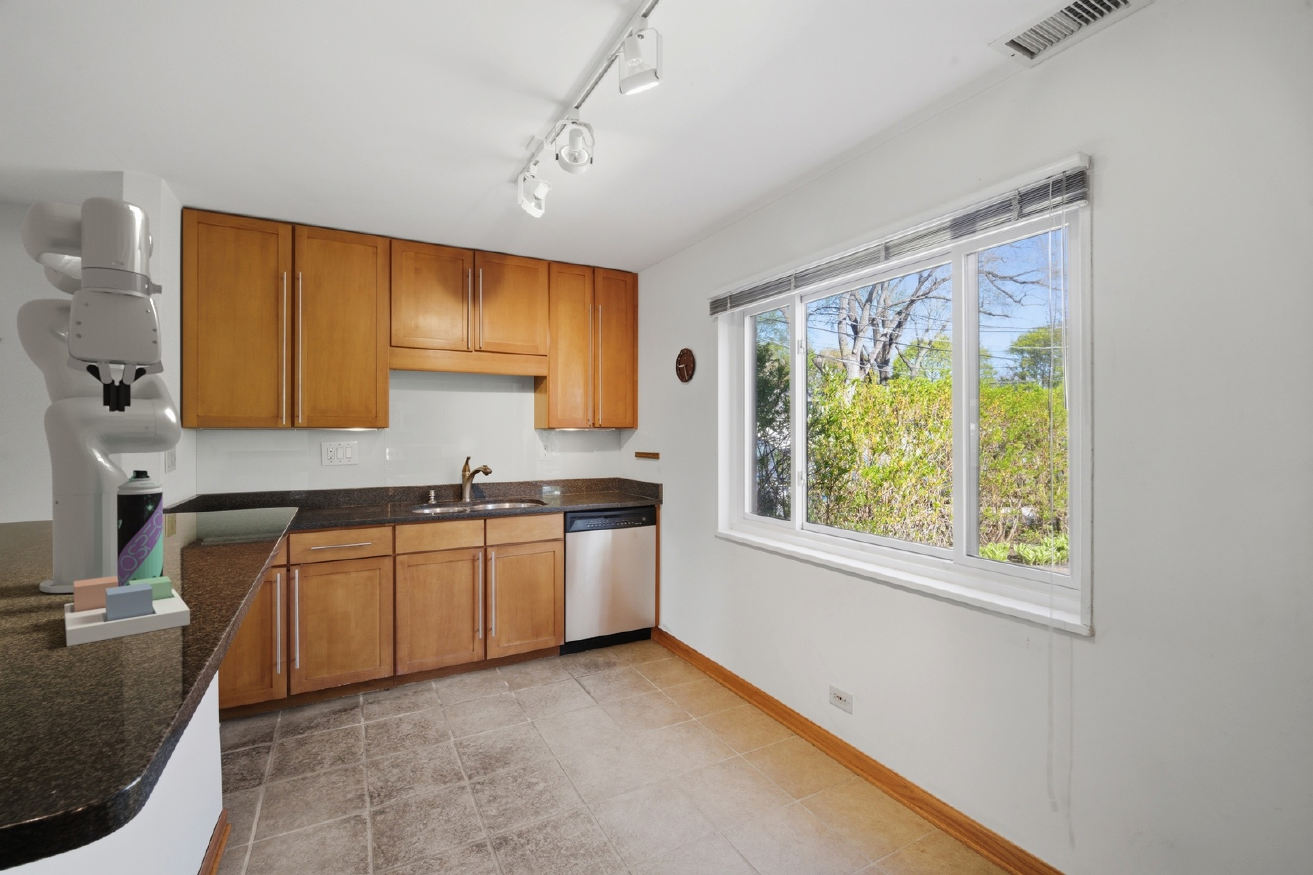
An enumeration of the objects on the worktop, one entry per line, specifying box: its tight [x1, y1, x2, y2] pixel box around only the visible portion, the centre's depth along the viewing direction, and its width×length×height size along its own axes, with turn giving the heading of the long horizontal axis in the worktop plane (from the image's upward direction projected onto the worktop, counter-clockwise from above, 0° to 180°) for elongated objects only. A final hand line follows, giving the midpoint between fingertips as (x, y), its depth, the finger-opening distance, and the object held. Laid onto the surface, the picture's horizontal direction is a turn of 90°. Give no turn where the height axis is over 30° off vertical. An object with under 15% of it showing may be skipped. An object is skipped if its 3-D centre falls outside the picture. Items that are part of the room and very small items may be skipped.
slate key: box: [106, 583, 153, 621], centre depth 81 cm, size 4×4×4 cm
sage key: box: [129, 575, 173, 601], centre depth 88 cm, size 4×4×4 cm
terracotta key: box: [73, 576, 118, 612], centre depth 84 cm, size 4×4×4 cm
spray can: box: [117, 469, 164, 587], centre depth 95 cm, size 6×6×20 cm
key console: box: [64, 588, 191, 647], centre depth 83 cm, size 15×12×2 cm
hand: (116, 411), depth 90 cm, fingers closed
